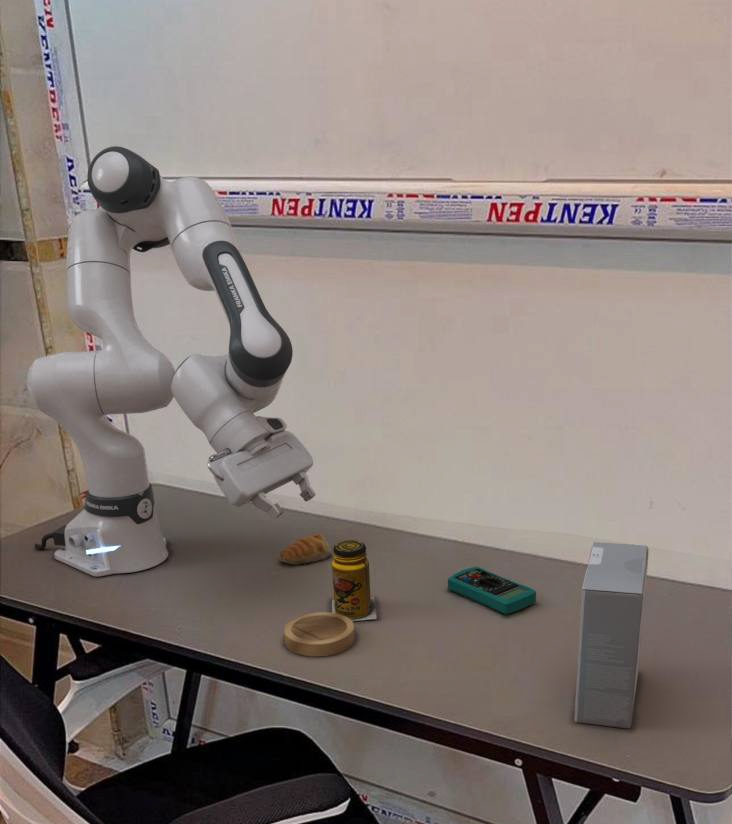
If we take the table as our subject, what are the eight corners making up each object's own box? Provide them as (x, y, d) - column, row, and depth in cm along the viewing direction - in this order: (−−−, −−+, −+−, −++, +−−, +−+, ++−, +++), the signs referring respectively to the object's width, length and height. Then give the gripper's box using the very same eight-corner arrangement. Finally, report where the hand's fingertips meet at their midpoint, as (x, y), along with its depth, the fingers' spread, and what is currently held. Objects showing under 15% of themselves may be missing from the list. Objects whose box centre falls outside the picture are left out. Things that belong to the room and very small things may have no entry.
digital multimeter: (475, 577, 171) (475, 562, 170) (537, 604, 161) (538, 588, 160) (444, 590, 168) (444, 574, 166) (507, 618, 157) (507, 601, 156)
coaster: (270, 646, 151) (269, 634, 150) (311, 618, 159) (310, 606, 158) (329, 663, 146) (328, 650, 145) (367, 633, 154) (367, 620, 153)
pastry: (293, 570, 177) (291, 551, 176) (272, 560, 182) (271, 541, 180) (334, 556, 182) (333, 537, 181) (313, 547, 187) (311, 528, 186)
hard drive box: (584, 667, 142) (593, 540, 133) (638, 673, 140) (651, 544, 131) (572, 723, 128) (581, 586, 120) (632, 730, 126) (645, 592, 117)
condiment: (331, 622, 158) (327, 554, 152) (331, 600, 165) (328, 534, 160) (376, 620, 158) (374, 552, 152) (374, 598, 165) (372, 532, 160)
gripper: (211, 447, 150) (268, 516, 150) (287, 416, 166) (338, 478, 166) (193, 471, 155) (247, 538, 154) (268, 438, 170) (318, 499, 170)
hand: (295, 506), depth 160 cm, fingers open, 8 cm apart
